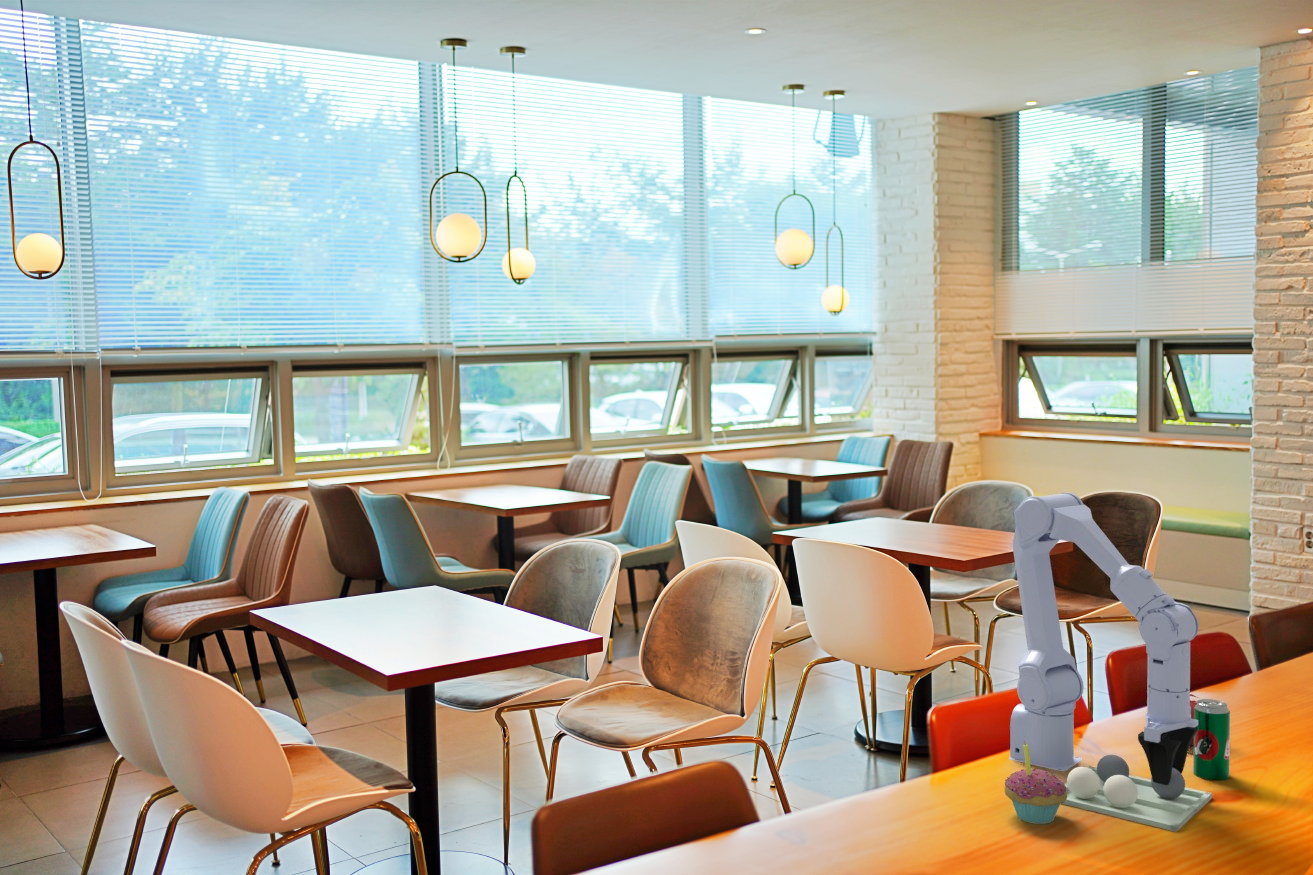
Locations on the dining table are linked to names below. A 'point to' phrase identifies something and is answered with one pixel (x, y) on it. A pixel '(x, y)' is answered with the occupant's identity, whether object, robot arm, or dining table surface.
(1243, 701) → the dining table surface
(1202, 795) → the rack
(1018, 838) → the dining table surface
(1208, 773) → the soda can
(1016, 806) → the cupcake
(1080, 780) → the cream ball left
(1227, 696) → the dining table surface
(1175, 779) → the charcoal ball front
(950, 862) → the dining table surface
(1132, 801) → the cream ball middle
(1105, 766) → the charcoal ball back
